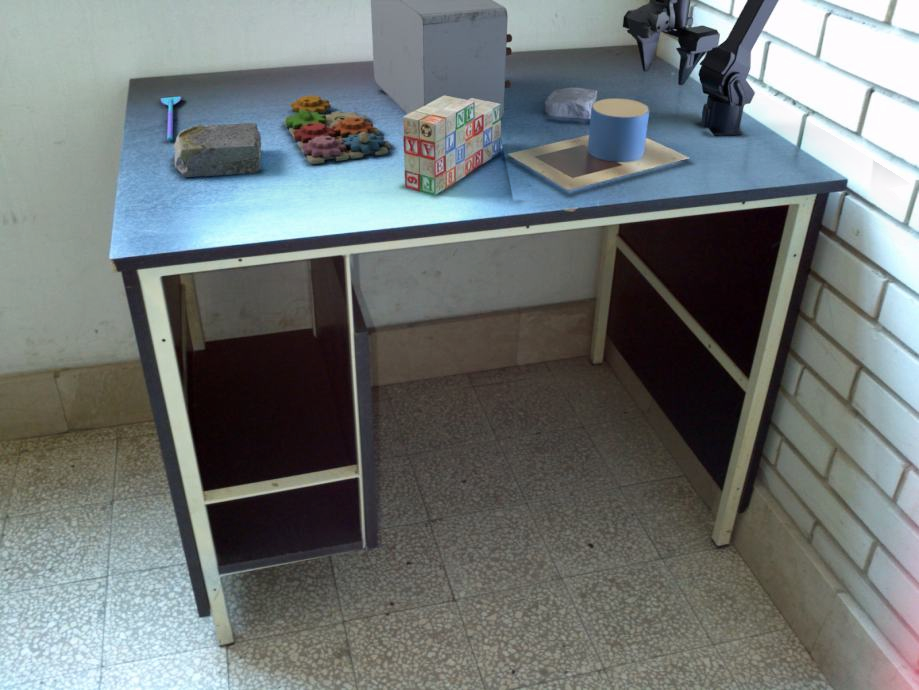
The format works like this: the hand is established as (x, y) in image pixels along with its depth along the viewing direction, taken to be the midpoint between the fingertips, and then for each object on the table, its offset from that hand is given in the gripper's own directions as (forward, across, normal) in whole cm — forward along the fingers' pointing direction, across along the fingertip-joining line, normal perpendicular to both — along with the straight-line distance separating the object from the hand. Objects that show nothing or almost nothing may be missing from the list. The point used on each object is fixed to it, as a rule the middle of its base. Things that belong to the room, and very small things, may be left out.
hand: (663, 77), depth 159 cm
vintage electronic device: (+12, -37, -25) cm, 46 cm away
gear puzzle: (+12, -35, -50) cm, 62 cm away
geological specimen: (+12, -30, -74) cm, 80 cm away
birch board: (+12, +2, -15) cm, 20 cm away
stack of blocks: (+12, -7, -40) cm, 42 cm away
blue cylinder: (+11, +2, -11) cm, 16 cm away
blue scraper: (+12, -56, -74) cm, 94 cm away
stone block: (+12, -21, -4) cm, 24 cm away
